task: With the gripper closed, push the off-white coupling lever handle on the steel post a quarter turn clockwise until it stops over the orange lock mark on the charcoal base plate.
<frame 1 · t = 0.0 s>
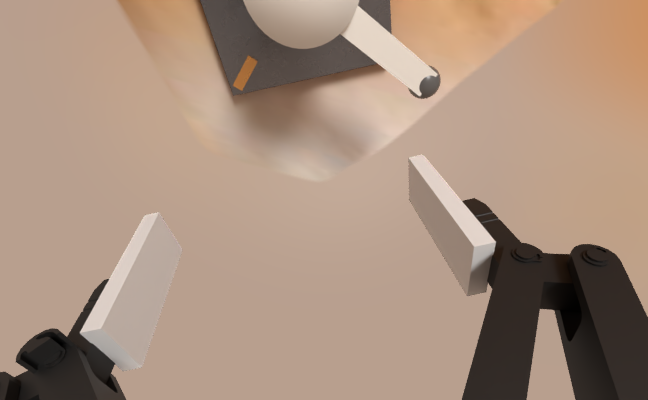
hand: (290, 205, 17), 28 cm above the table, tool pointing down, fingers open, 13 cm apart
coupling lever handle: (355, 25, 27), point 12 cm above the table, hinge at 0.0°
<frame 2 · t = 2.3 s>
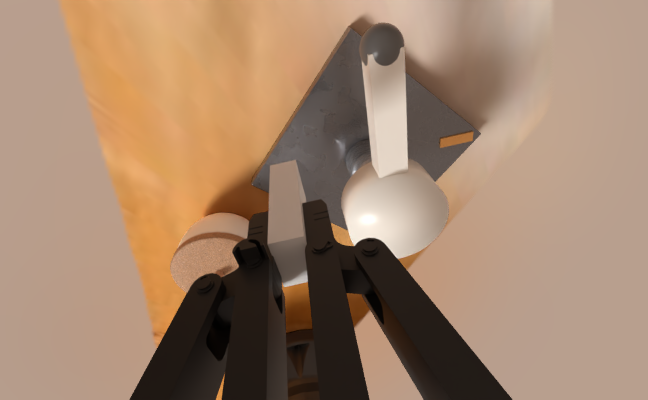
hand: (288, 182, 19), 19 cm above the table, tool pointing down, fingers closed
lidded jar: (227, 229, 43), on the table
coupling lever handle: (388, 157, 26), point 12 cm above the table, hinge at 0.0°
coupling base: (363, 153, 39), on the table
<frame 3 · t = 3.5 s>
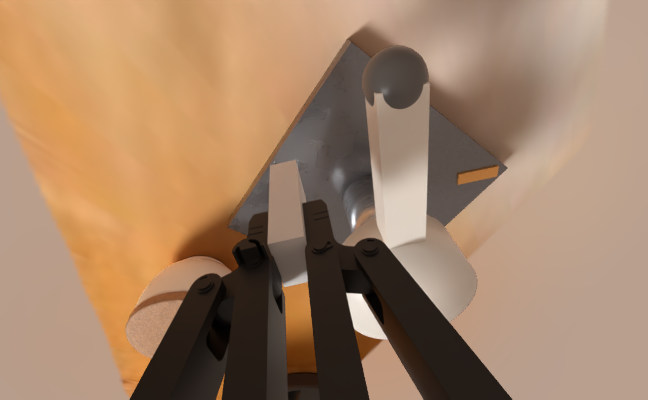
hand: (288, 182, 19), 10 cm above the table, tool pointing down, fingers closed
lidded jar: (202, 273, 37), on the table
coupling lever handle: (399, 220, 20), point 12 cm above the table, hinge at 0.0°
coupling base: (364, 189, 32), on the table
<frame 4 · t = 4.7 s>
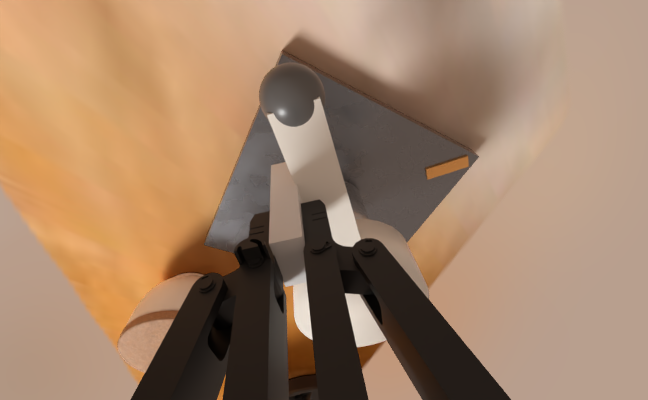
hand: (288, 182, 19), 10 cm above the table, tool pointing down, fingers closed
lidded jar: (194, 288, 38), on the table
coupling lever handle: (337, 230, 19), point 12 cm above the table, hinge at -1.8°, touching gripper
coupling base: (333, 194, 32), on the table
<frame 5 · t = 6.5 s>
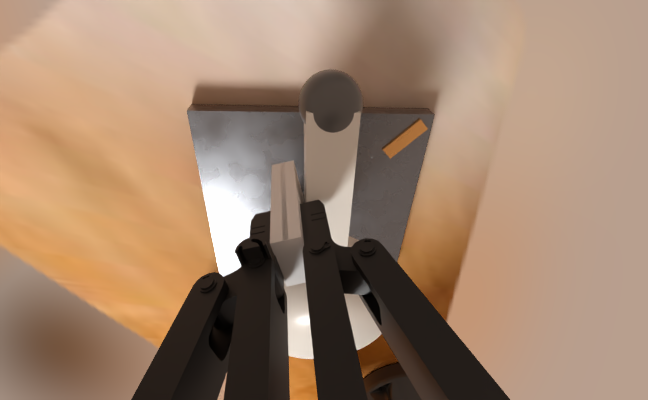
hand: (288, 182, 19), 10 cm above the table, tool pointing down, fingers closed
coupling lever handle: (324, 240, 20), point 12 cm above the table, hinge at -44.0°, touching gripper
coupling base: (311, 203, 32), on the table
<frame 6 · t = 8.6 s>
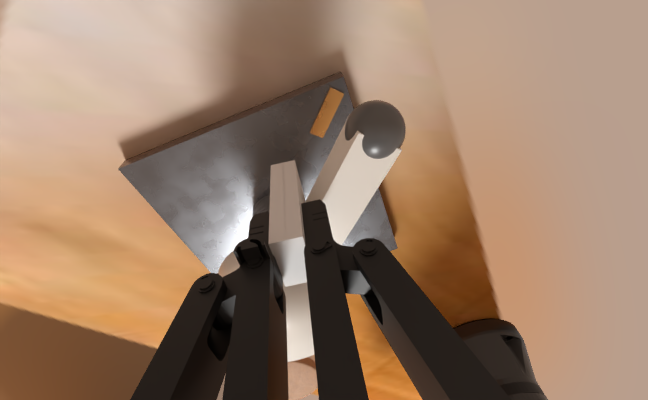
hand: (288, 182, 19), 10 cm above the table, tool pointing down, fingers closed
lidded jar: (277, 325, 44), on the table
coupling lever handle: (308, 249, 20), point 12 cm above the table, hinge at -89.7°, touching gripper
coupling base: (278, 205, 32), on the table
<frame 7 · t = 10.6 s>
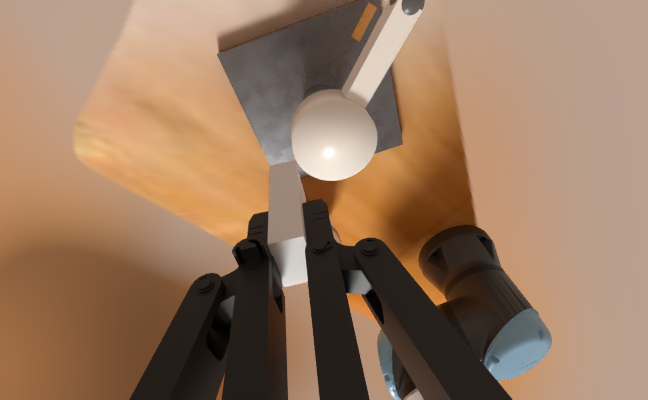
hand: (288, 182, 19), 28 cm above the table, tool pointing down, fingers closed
coupling lever handle: (358, 90, 32), point 12 cm above the table, hinge at -89.7°
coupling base: (319, 101, 44), on the table
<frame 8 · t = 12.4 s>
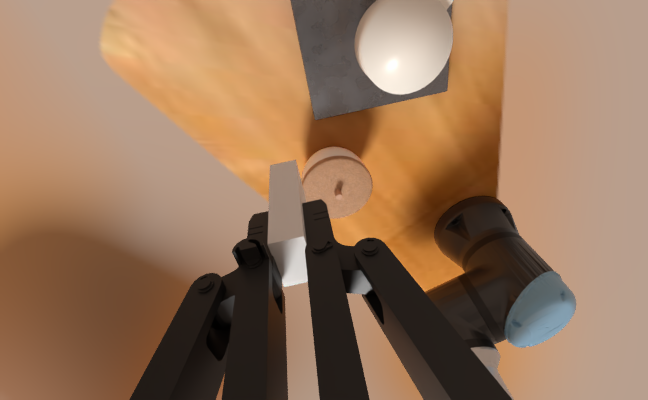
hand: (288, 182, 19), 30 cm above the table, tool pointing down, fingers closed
lidded jar: (330, 165, 53), on the table
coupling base: (372, 29, 42), on the table
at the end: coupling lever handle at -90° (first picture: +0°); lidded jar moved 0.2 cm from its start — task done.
